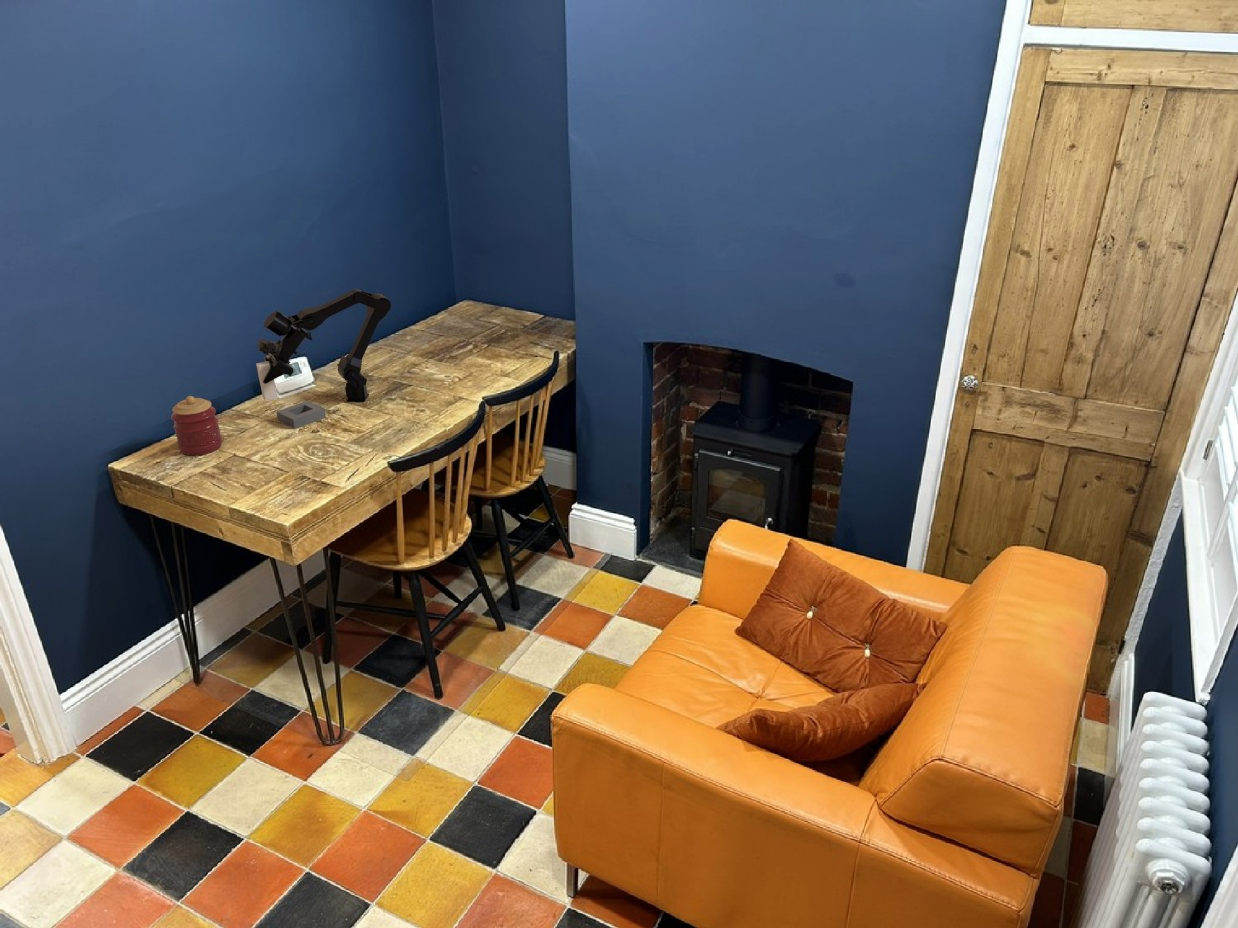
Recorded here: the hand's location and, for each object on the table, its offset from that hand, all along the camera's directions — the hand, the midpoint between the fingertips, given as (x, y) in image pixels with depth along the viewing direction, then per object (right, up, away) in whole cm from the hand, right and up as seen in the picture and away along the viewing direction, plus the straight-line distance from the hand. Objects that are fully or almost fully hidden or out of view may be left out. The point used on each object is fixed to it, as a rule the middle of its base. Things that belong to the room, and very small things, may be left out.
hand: (262, 381), depth 313 cm
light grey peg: (+1, -5, +4) cm, 7 cm away
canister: (-14, -22, -13) cm, 30 cm away
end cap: (+11, -12, +5) cm, 18 cm away
